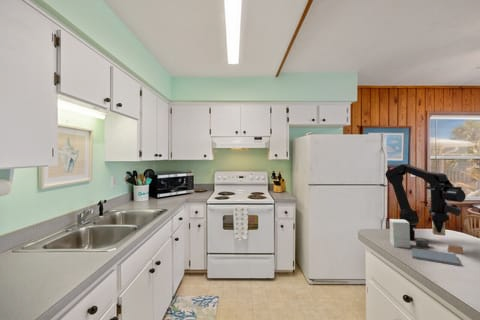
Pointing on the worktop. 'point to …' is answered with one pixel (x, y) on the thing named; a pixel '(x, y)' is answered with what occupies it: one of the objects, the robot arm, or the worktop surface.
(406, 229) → the supplement box
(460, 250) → the terracotta tile
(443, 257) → the slate board
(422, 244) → the smooth grey pebble
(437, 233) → the beech block
